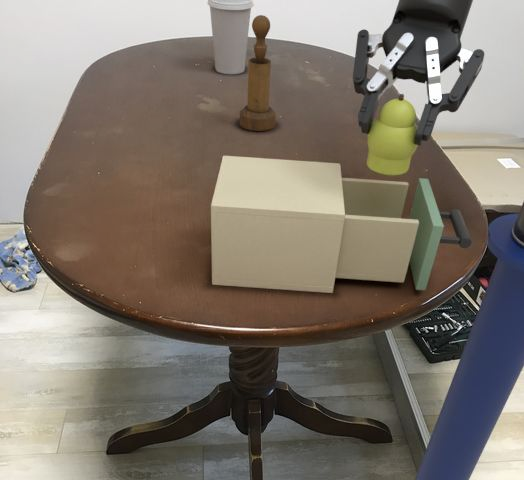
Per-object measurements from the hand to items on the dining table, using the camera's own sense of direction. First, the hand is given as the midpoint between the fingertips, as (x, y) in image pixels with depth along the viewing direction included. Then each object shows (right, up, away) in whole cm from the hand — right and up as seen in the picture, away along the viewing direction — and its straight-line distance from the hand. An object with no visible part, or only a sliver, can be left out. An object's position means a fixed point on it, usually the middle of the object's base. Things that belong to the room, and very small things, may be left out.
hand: (391, 135), depth 63 cm
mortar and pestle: (-15, +19, +46) cm, 52 cm away
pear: (+1, -2, +4) cm, 5 cm away
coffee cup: (-21, +39, +68) cm, 82 cm away
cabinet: (-12, -11, +13) cm, 21 cm away
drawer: (+2, -12, +13) cm, 17 cm away
